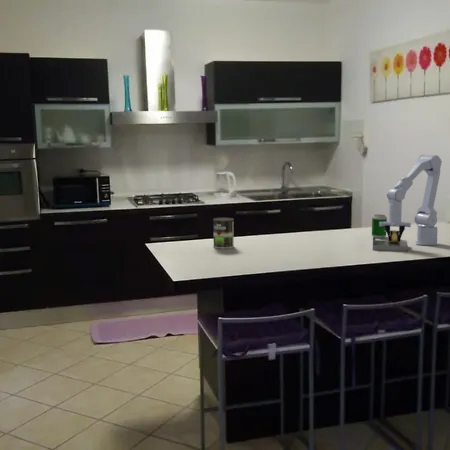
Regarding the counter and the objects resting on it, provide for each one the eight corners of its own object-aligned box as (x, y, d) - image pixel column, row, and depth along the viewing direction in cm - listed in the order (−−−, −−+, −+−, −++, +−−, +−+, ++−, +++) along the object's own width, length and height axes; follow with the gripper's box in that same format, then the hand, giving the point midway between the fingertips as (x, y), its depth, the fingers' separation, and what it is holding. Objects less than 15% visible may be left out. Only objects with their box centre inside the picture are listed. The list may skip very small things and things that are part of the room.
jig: (406, 246, 276) (406, 238, 275) (407, 251, 264) (408, 243, 264) (372, 245, 280) (372, 237, 279) (372, 250, 268) (372, 241, 268)
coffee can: (228, 249, 274) (227, 221, 272) (209, 247, 279) (209, 219, 277) (237, 245, 283) (237, 218, 281) (219, 244, 288) (219, 216, 286)
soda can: (382, 239, 294) (383, 216, 292) (369, 237, 298) (369, 215, 296) (388, 237, 300) (389, 214, 298) (374, 235, 304) (375, 213, 302)
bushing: (398, 244, 274) (398, 230, 273) (398, 246, 270) (399, 231, 269) (389, 244, 275) (390, 230, 274) (390, 245, 271) (390, 231, 270)
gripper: (379, 214, 268) (378, 242, 270) (411, 215, 264) (410, 243, 266) (379, 212, 274) (378, 239, 277) (410, 212, 271) (409, 240, 273)
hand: (394, 241), depth 272 cm, fingers closed on bushing, 4 cm apart
